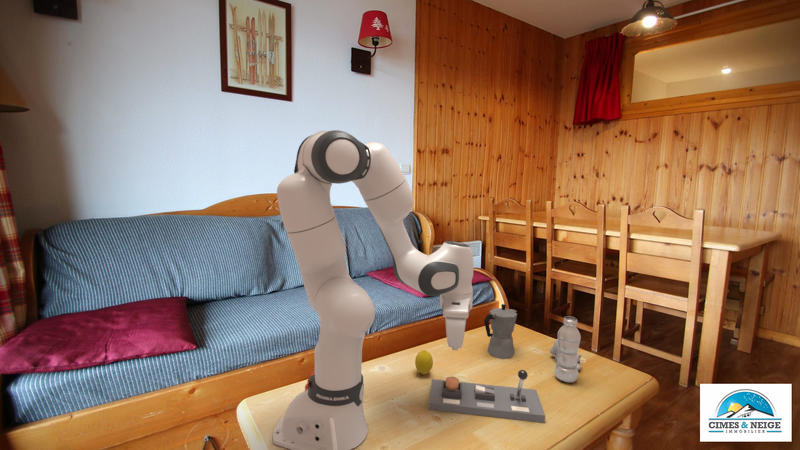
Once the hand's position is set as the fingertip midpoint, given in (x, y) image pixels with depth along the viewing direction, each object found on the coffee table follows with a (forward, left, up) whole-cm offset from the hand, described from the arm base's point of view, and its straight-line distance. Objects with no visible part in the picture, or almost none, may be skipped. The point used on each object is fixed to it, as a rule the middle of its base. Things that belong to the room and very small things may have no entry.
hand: (455, 347), depth 106 cm
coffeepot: (+16, +31, -16) cm, 38 cm away
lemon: (-9, +12, -15) cm, 22 cm away
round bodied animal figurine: (+38, +27, -16) cm, 49 cm away
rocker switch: (+9, 0, -12) cm, 15 cm away
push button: (0, 0, -11) cm, 11 cm away
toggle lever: (+18, 0, -12) cm, 21 cm away
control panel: (+9, 0, -15) cm, 18 cm away
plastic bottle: (+35, +17, -15) cm, 41 cm away
